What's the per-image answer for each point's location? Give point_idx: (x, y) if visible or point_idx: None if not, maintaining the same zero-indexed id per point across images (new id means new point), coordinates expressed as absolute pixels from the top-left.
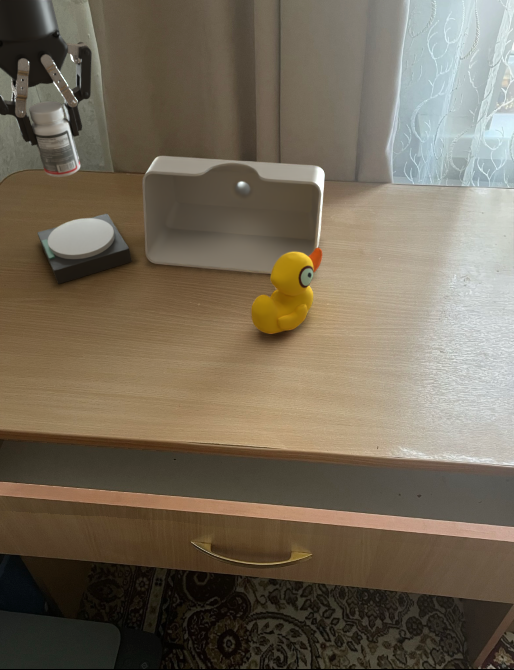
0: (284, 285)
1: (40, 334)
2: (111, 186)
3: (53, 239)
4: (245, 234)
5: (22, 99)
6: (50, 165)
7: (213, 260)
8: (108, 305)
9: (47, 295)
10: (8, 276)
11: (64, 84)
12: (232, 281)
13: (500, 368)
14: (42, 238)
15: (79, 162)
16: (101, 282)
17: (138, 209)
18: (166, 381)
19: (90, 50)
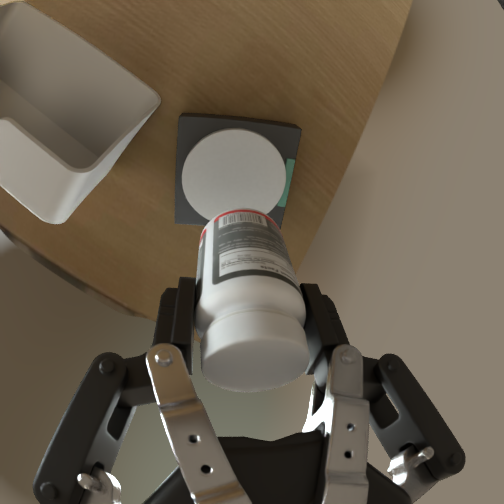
0: None
1: (354, 51)
2: (149, 293)
3: (273, 194)
4: (30, 103)
5: (343, 392)
6: (279, 234)
7: (84, 59)
8: (257, 40)
9: (317, 112)
10: (337, 181)
11: (175, 422)
12: (88, 12)
13: None
14: (280, 213)
15: (203, 234)
16: (243, 91)
17: (130, 230)
18: None
19: (34, 491)
